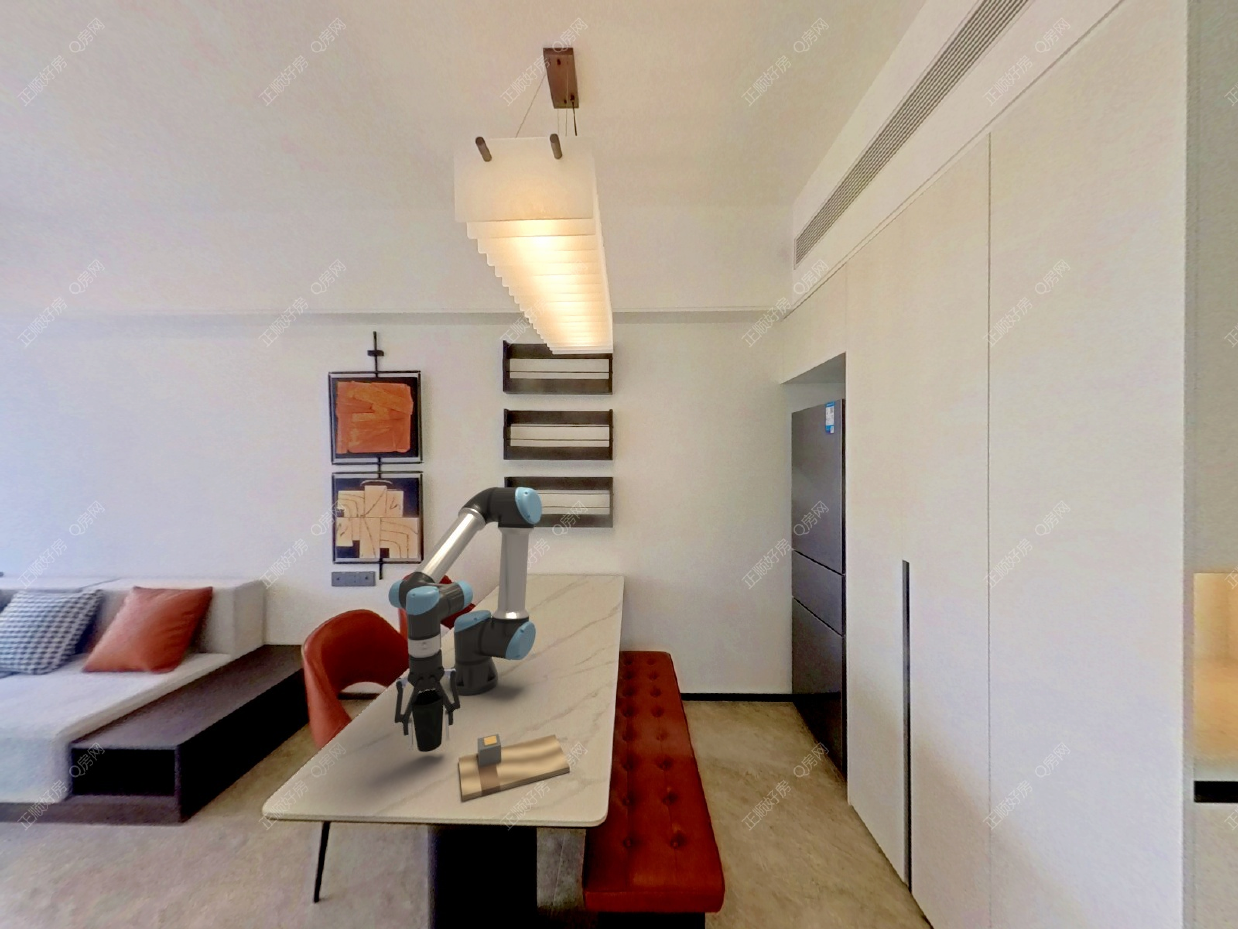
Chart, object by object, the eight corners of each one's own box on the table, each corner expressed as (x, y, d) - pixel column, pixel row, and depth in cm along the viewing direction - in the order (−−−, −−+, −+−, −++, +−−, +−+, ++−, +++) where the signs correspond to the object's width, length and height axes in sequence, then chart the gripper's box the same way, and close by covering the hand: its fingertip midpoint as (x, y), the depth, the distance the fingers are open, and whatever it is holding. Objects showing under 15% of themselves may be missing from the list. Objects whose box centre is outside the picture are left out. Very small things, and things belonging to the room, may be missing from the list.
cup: (450, 734, 121) (448, 688, 120) (440, 754, 113) (437, 705, 112) (419, 735, 120) (417, 690, 120) (407, 755, 113) (405, 706, 112)
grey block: (477, 754, 116) (477, 737, 116) (498, 749, 118) (498, 732, 118) (479, 767, 111) (479, 749, 111) (501, 761, 113) (501, 744, 113)
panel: (458, 762, 115) (458, 757, 115) (555, 739, 124) (554, 734, 124) (462, 801, 102) (462, 795, 102) (569, 771, 111) (569, 766, 111)
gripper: (377, 666, 108) (382, 762, 109) (470, 649, 116) (474, 739, 117) (380, 653, 115) (384, 744, 116) (467, 638, 123) (471, 723, 124)
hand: (429, 741), depth 117 cm, fingers closed on cup, 8 cm apart
